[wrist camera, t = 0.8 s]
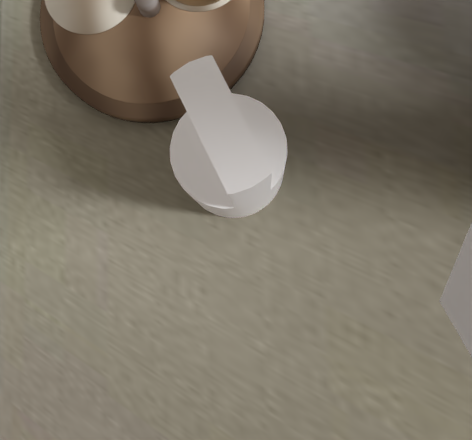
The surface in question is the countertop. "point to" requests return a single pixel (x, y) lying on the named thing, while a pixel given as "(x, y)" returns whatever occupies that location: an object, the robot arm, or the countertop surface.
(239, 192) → the cylinder with rectangular tab
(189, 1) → the oak cylinder
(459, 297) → the robot arm
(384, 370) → the countertop surface
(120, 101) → the board
